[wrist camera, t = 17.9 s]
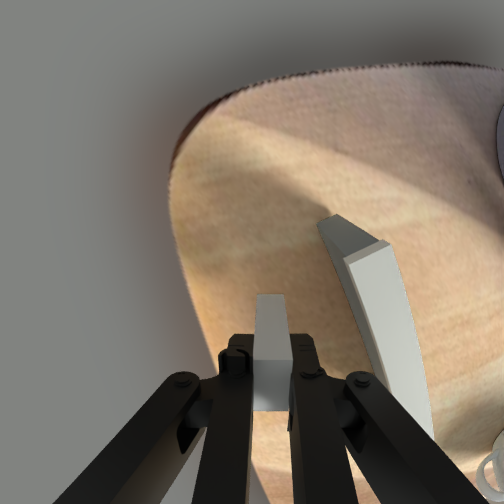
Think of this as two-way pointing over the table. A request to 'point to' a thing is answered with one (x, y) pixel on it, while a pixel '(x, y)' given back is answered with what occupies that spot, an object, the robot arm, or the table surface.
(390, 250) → the grey flat board
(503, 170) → the container
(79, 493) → the robot arm
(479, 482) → the mug
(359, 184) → the table surface
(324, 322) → the table surface
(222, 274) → the table surface
